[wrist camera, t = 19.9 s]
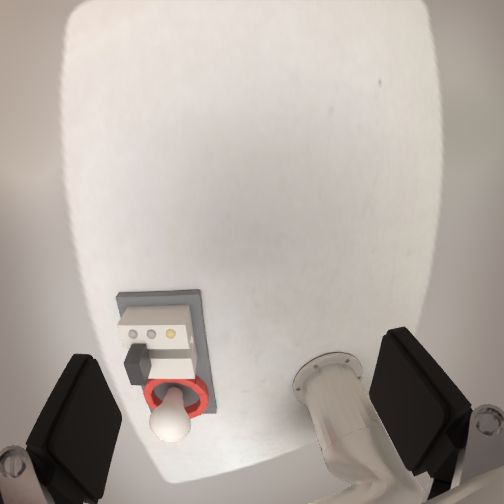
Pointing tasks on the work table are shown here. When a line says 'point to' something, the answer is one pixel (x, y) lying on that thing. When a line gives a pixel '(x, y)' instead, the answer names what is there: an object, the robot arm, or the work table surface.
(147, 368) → the block
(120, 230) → the work table surface
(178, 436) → the lightbulb
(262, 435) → the work table surface
